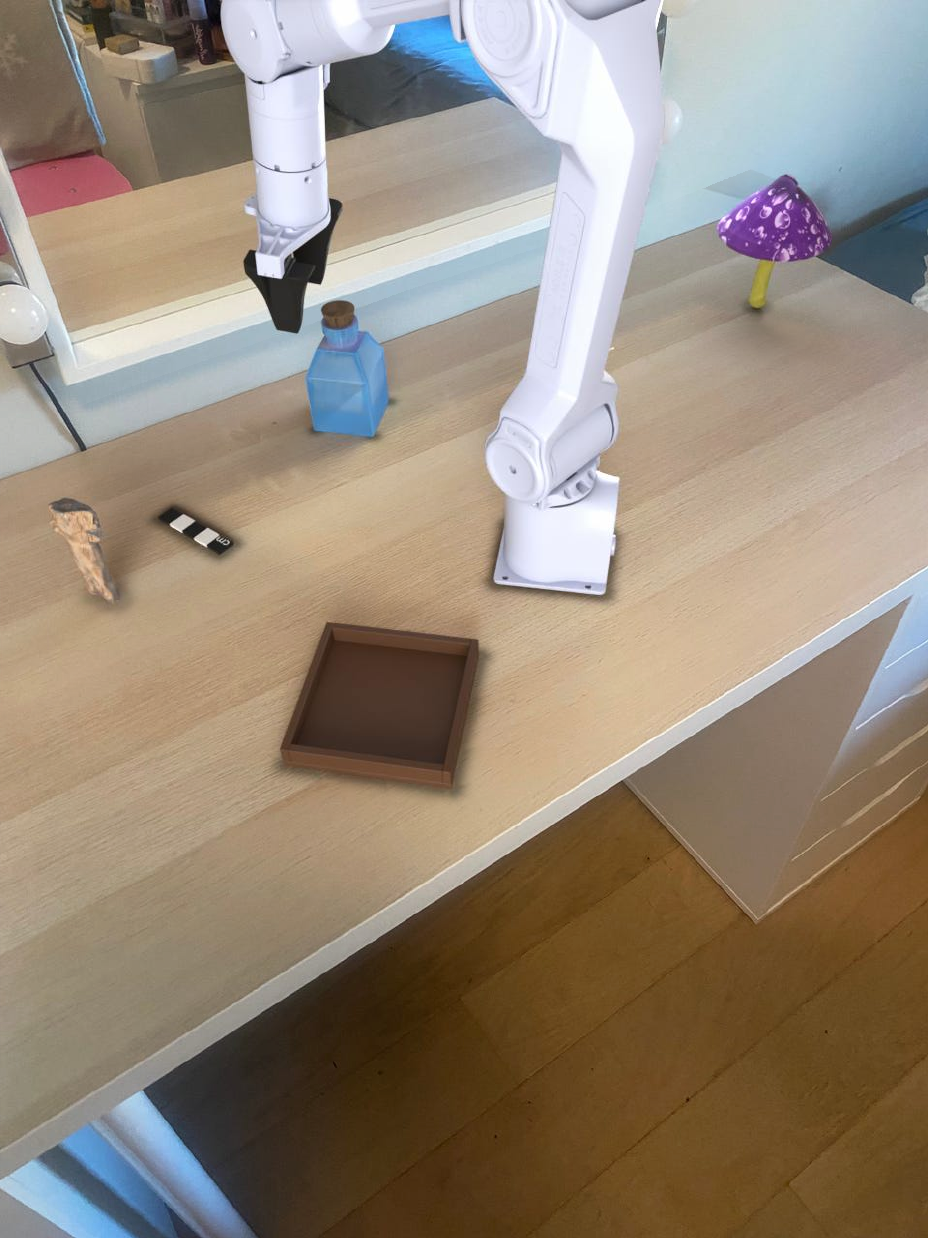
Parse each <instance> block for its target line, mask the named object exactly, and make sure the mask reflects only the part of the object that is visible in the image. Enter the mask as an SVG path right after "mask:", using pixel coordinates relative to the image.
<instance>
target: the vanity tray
mask: <svg viewBox="0 0 928 1238" xmlns="http://www.w3.org/2000/svg"><path fill="white" fill-rule="evenodd" d="M320 636H321V637H320V639H319V641H318V645H317V647H316V649H315V653H314V655H313V658H312V661H311V662H310V663H311V664H310V665H309V668H308V672H307V674H306V677H305V679H304V682H303V685H302V687H301V690H300V693H299V696H298V698H297V702H296V703H295V706H294V710H293V712H292V715H291V717H290V720H289V723H288V725H287V728H286V732H285V734H284V737H283V740H282V743H281V745H280V748H279V752H280V755H281V758H282V761H283V764H284V766H286V767H293V768H298V769H299V768H300V769H308V770H313V771H320V772H321V771H322V772H329V773H336V774H343V775H349V776H357V777H365V778H370V779H371V778H372V779H378V780H385V781H392V782H399V783H400V782H401V783H408V784H416V785H420V786H421V785H422V786H429V787H437V788H444V789H451V790H452V788H453V783H454V778H455V775H456V774H455V773H456V768H457V764H458V759H459V753H460V751H461V745H462V740H463V735H464V730H465V725H466V724H465V723H466V721H467V715H468V710H469V706H470V702H471V696H472V692H473V688H474V687H473V686H474V681H475V677H476V672H477V667H478V662H479V657H480V649H479V648H480V647H479V646H480V645H479V644H480V643H479V642H480V641H479V638H477V639H476V638H470V637H462V636H453V635H443V634H437V633H436V634H435V633H426V632H418V631H410V630H400V629H392V628H384V627H375V626H366V625H358V624H350V623H341V622H332V621H326V623H325V625H324V627H323V631H322V633H321V635H320Z"/></svg>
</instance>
